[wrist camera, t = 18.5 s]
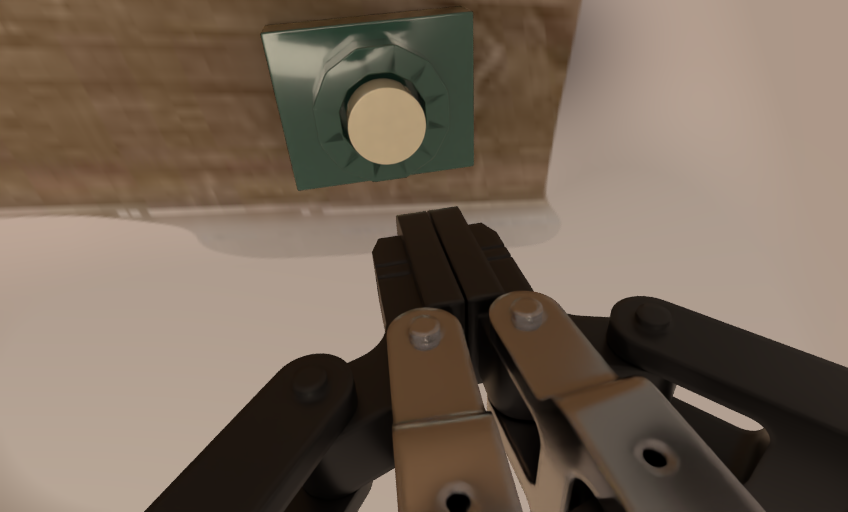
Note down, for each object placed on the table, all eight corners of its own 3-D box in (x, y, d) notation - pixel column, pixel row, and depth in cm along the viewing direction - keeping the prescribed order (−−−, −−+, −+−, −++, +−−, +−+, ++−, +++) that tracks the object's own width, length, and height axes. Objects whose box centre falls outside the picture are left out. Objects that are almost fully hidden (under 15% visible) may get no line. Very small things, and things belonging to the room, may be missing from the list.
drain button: (416, 73, 22) (423, 82, 21) (421, 146, 24) (428, 159, 23) (339, 82, 22) (341, 92, 21) (351, 155, 24) (354, 169, 23)
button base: (462, 5, 25) (484, 16, 21) (464, 152, 29) (483, 179, 26) (263, 25, 23) (255, 39, 20) (298, 175, 28) (296, 206, 25)
